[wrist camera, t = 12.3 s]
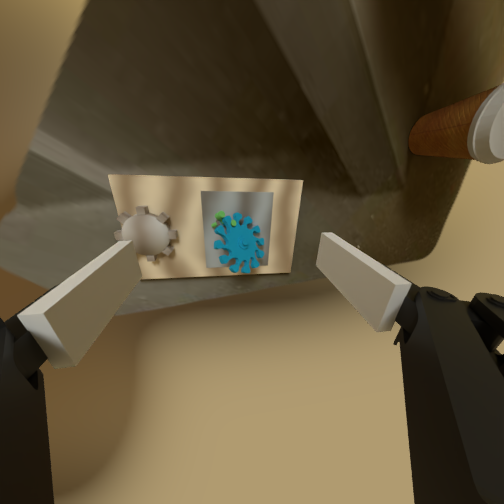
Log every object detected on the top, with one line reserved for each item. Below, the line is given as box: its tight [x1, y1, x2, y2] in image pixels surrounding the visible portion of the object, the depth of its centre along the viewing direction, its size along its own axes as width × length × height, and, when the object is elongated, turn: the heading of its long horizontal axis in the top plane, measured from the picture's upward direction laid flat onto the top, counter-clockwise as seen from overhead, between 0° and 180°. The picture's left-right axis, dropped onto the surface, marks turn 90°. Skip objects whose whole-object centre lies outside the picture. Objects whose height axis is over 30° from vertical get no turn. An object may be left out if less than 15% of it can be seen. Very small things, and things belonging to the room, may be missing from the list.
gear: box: [211, 211, 265, 273], centre depth 31 cm, size 11×6×10 cm
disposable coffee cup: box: [408, 83, 504, 164], centre depth 27 cm, size 10×10×12 cm
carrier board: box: [108, 174, 303, 279], centre depth 33 cm, size 31×18×3 cm, turn 88°
